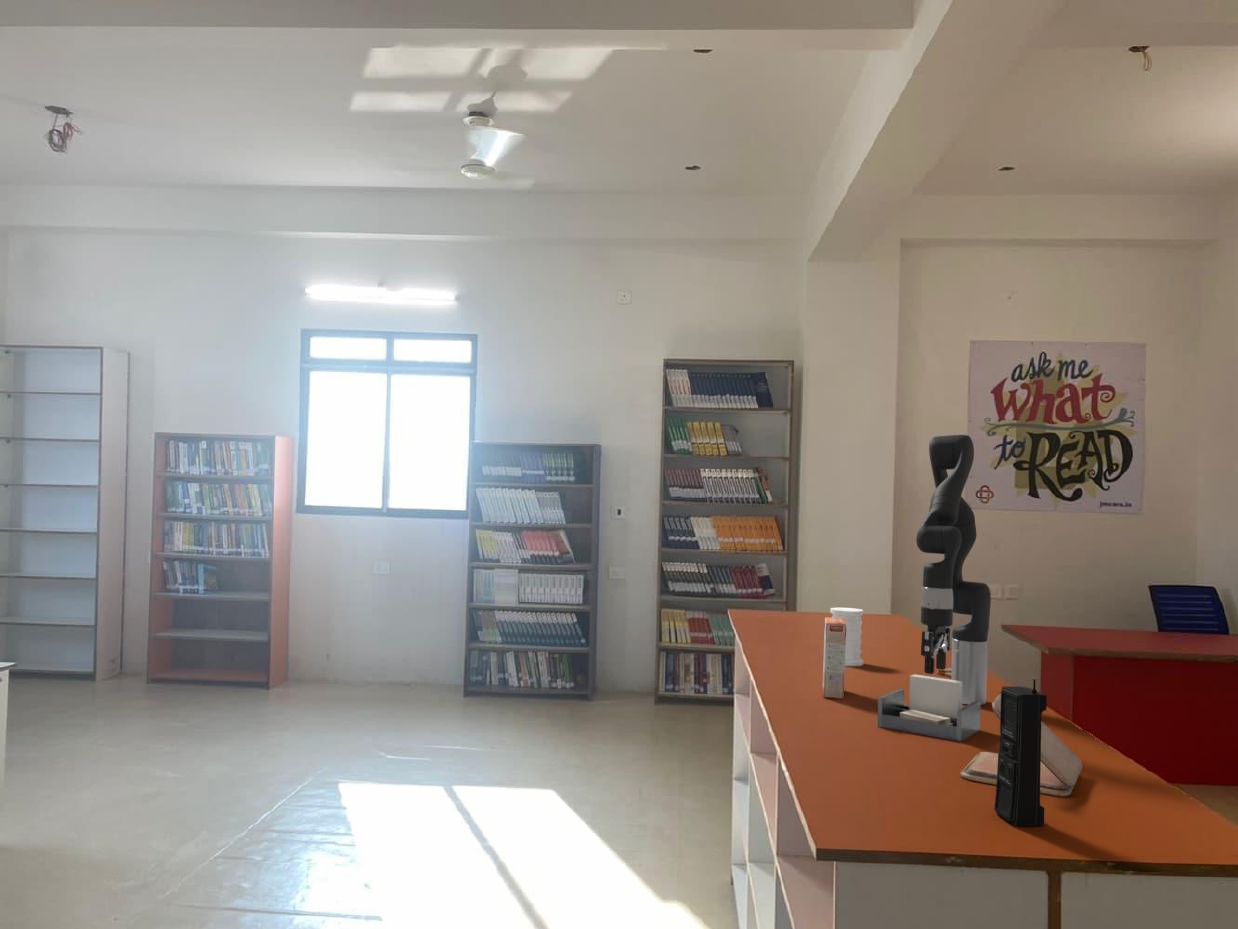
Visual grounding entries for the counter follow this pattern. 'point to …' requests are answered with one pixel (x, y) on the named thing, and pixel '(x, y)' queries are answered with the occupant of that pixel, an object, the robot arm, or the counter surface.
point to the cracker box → (834, 657)
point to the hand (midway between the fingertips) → (935, 671)
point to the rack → (959, 731)
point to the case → (1055, 767)
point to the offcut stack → (926, 717)
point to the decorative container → (851, 633)
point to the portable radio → (1020, 756)
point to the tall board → (935, 695)
